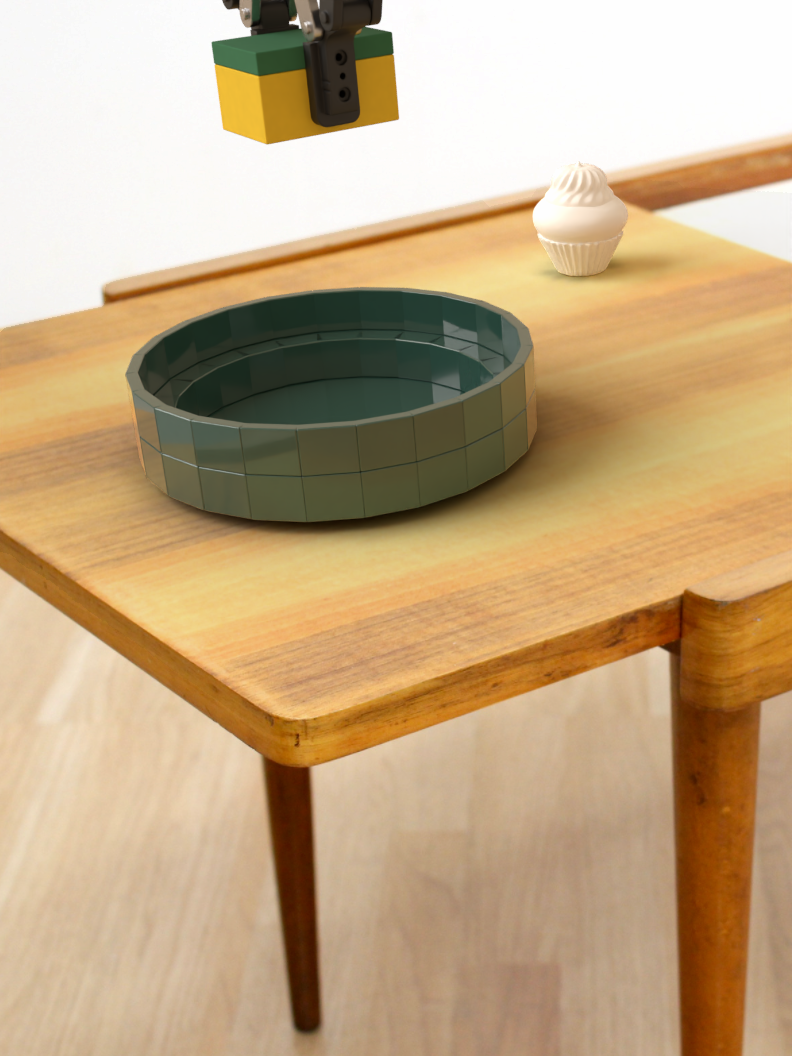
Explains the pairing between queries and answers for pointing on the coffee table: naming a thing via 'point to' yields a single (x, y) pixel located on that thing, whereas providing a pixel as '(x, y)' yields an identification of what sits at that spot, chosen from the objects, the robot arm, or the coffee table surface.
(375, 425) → the bowl
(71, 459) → the coffee table surface
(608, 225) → the muffin
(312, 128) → the sponge
